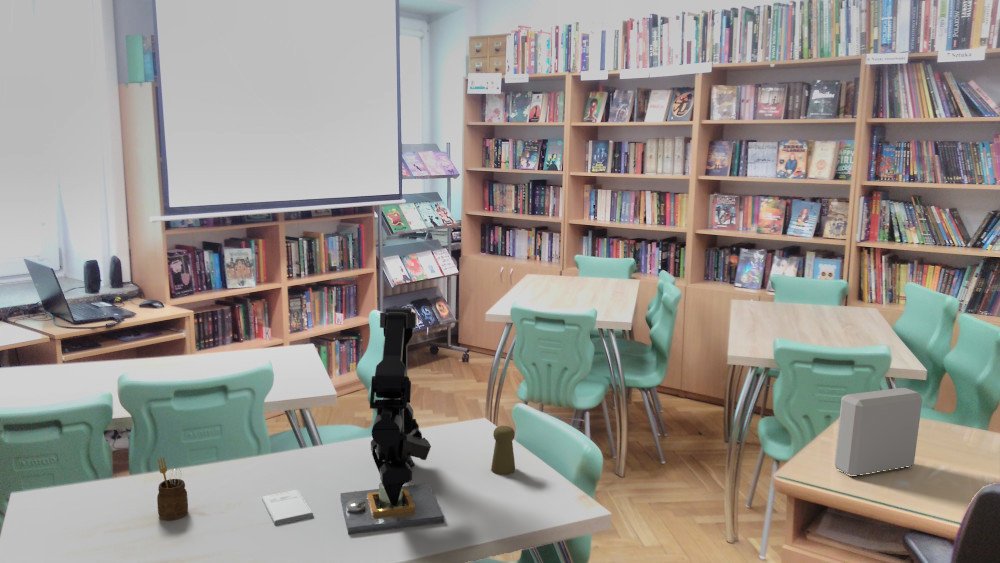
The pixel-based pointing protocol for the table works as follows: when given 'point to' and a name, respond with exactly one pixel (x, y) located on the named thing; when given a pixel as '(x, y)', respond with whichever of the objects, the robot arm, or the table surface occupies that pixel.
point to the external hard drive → (286, 507)
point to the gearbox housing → (390, 510)
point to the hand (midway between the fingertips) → (390, 495)
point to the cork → (503, 451)
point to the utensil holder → (171, 496)
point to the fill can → (384, 498)
